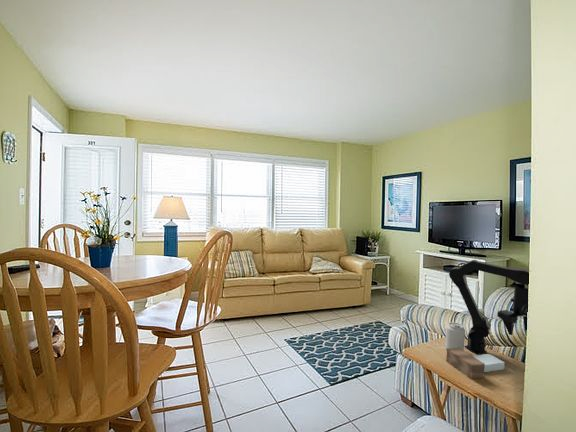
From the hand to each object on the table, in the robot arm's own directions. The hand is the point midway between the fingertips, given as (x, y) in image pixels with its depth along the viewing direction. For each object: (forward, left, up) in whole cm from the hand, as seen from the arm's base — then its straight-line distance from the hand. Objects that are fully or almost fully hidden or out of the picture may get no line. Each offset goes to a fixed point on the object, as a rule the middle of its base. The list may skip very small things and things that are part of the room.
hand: (518, 333), depth 131 cm
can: (-14, -19, -13) cm, 27 cm away
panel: (0, -17, -13) cm, 21 cm away
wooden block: (0, -27, -12) cm, 30 cm away
